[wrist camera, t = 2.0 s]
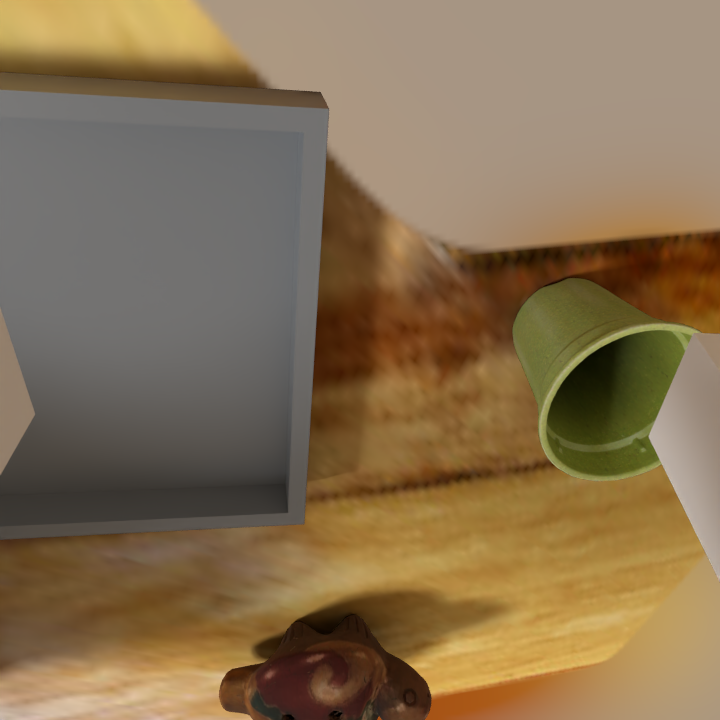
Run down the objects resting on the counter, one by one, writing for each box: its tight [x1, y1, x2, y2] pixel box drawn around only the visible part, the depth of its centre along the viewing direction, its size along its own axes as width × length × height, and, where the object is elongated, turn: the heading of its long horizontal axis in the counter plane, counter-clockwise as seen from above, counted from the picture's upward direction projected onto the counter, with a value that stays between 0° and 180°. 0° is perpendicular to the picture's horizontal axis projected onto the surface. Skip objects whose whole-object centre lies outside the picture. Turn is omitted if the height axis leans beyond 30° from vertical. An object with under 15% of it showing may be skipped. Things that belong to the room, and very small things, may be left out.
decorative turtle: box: [219, 615, 431, 720], centre depth 49 cm, size 10×15×8 cm, turn 99°
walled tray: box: [0, 72, 329, 540], centre depth 33 cm, size 24×24×4 cm
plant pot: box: [512, 278, 702, 481], centre depth 36 cm, size 9×9×9 cm
